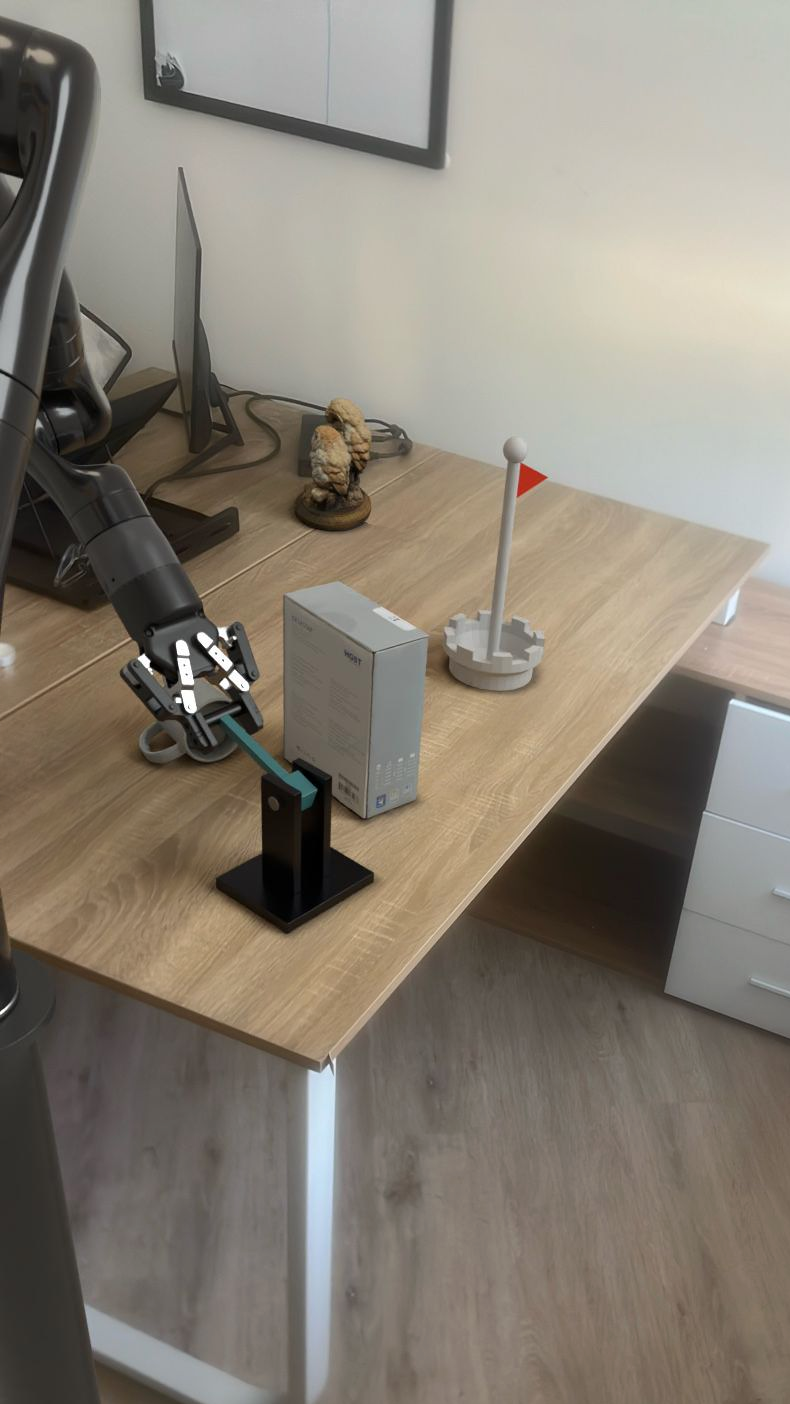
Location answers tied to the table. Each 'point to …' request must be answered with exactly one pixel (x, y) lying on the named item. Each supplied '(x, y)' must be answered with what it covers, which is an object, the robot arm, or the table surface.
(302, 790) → the switch lever
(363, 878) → the switch bracket
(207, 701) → the ceramic mug
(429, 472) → the table surface
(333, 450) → the owl figurine
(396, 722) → the hard drive box
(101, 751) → the table surface
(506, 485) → the flag stand
